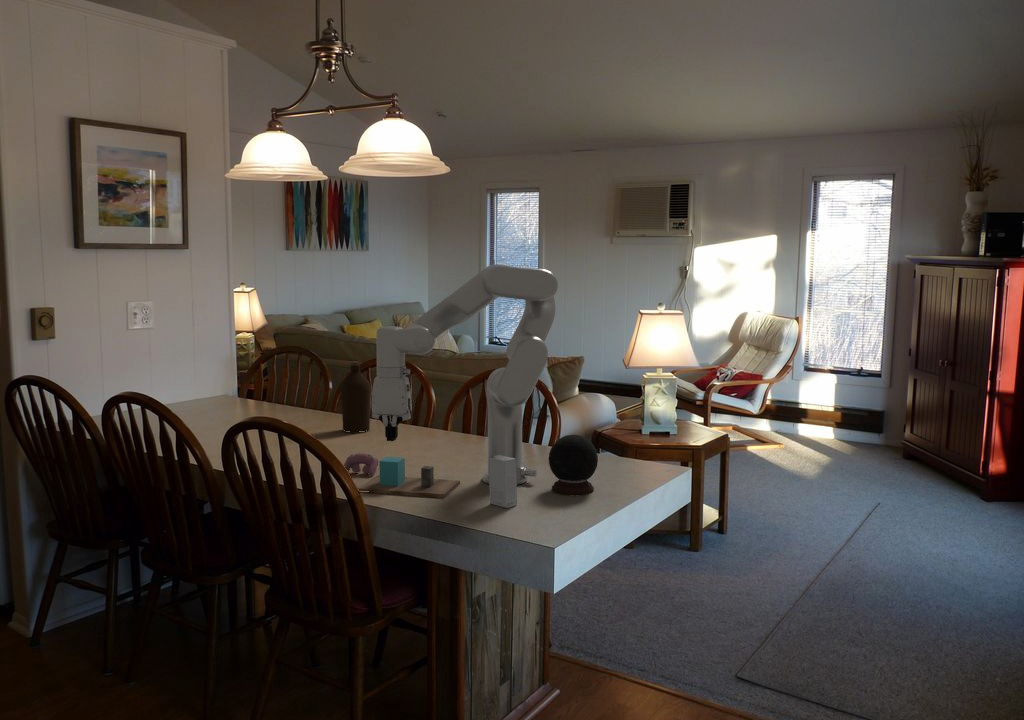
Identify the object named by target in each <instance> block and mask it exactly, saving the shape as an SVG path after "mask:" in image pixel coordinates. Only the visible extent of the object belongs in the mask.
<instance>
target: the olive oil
mask: <svg viewBox="0 0 1024 720" xmlns="http://www.w3.org/2000/svg"><path fill="white" fill-rule="evenodd" d="M360 363H361V362H360V361H356V360H355V361H353V360H352V361H350V365H349V367H350V369H349V370H350V372H349V374H348V375H347V376H346V377H345V378H344V379H343V381H342V382H341V385H340V401H341V413H342V414H341V415H342V431H343V430H345V431H350V432H359V431H366V430H369V431H370V427H371V426H370V424H371V422H370V421H371V420H370V419H371V418H370V417H371V396H372V388H371V384H370V382H369V380H368V379H367V378H366V377H365V376H364V375H363V374H362V372H361V365H360Z"/></svg>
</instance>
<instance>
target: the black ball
mask: <svg viewBox="0 0 1024 720" xmlns="http://www.w3.org/2000/svg"><path fill="white" fill-rule="evenodd" d="M598 462H599V459H598V452H597V449H596V447H595V445H594V444H593V443H592V442H591V441H590V440H589V439H588V438H586V437H584V436H583V435H578V434H568V435H564V436H561V437H560V438H558V439H557V440H556V441H555V442H554V443H553V445H552V446H551V448H550V450H549V453H548V464H549V469H550V470H551V473H552V474H553V475H554V476H555V478H556V479H558V480H557V481H555V482H554V483H553V484H552V486H551V491H552V492H553V491H554V493H555V494H558V495H562V496H570V495H574V496H575V497H577V496H576V495H580V496H586V494H587V495H590V494H592V493H593V492H594V490H595V488H594V486H593V484H592V483H591V482H590V481H588V480H589V479H590V478H591V477H592V476H593V475H594V474H595V472H596V471H597V467H598ZM589 493H590V494H589ZM574 496H573V497H574Z"/></svg>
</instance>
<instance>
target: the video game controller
mask: <svg viewBox="0 0 1024 720" xmlns="http://www.w3.org/2000/svg"><path fill="white" fill-rule="evenodd" d="M379 464H380V461H379V459H378V458H377V457H375V456H374V455H373V454H372V455H371V454H369V453H360V452H359V453H355V454H354V453H351V454H349V456H348V457H347V458H346V460H345V462H344V464H343V466H345V468H346V469H347V470H348V472H350V470H351V469H352V473H355V472H359V473H360V472H361V471H362V472H363V474H365V473H369V474H368V476H369V477H370V476H372V475H373V476H374V475H375V473H376V471H377V467H378V466H379ZM360 465H364V466H362V468H361V466H360ZM373 476H372V477H373Z"/></svg>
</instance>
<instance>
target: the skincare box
mask: <svg viewBox="0 0 1024 720" xmlns="http://www.w3.org/2000/svg"><path fill="white" fill-rule="evenodd" d="M488 485H489V503H490V504H491V505H494V506H498V507H500V508H501V507H502V508H505V509H508V508H512V507H515V506H518V489H517V487H518V485H517V479H516V459H515V458H510V457H506V456H501V455H497V456H494V457H490V458H489V484H488Z"/></svg>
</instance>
